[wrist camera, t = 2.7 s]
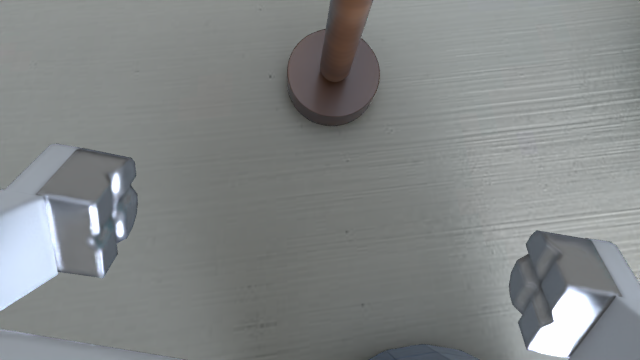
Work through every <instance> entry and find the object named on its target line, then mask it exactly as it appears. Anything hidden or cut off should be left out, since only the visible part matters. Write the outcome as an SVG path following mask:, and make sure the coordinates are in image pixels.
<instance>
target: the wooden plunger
mask: <svg viewBox="0 0 640 360" xmlns="http://www.w3.org/2000/svg"><path fill="white" fill-rule="evenodd" d="M372 2H373V0H331V1H330V7H329V13H328V19H327V25H326V29H324V30H320V31H317V32H314V33H312V34H310V35H308V36H306V37H305V38H304V39H302V40H301V41H300V42H299V43H298V44H297V46H296V47H295V48H294V50H293V52H292V54H291V56H290V58H289V62H288V69H287V87H288V92H289V96H290V98H291V101H292V103H293V104H294V106H295V107H296V109H297V110H298V111H299V112H300V113H301V114H302V115H303V116H305V117H306V118H307V119H309V120H311V121H313V122H315V123H318V124H322V125H328V126H337V125H342V124H346V123H349V122H351V121H353V120H355V119H356V118H358V117H359V116H360V115H361V114H362V113H363V112H364V111H365V110H366V109H367V107H368V106H369V104H370V102H371V100H372V99H373V97H374V95H375V93H376V90H377V88H378V84H379V79H380V69H379V64H378V61H377V58H376V56H375V54H374V52H373V50H372V49H371V48H370V46H369V45H368V44H367V43H366V42H365V41H364V40H363V39H361V36H362V33H363V30H364V27H365V24H366V21H367V18H368V14H369V11H370V8H371V5H372Z"/></svg>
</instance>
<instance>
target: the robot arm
mask: <svg viewBox="0 0 640 360" xmlns="http://www.w3.org/2000/svg"><path fill="white" fill-rule="evenodd" d="M135 177H136V167H135V161H134V160H133V159H132V158H131V157H126V156H121V155H116V154H111V153H106V152H101V151H96V150H91V149H86V148H79V147H75V146H69V145H64V144H58V143H56V144H51V145H49V146H48V147H47V148H46V149H45V150H44V151H43V152H42V153H41V154H40V155H39V156H38V157H37V158H36V159H35V160H34V161H33V162H32V163H31V164H30V165H29V166H28V167H27V168H26V169H25V170H24V171H23V172H22V173H21V174H20V175H19V176H18V177H17V178H16V179H15V180H14V181H13V182H12V183H11V184H10V185H9V186H8V187H7V188H6V189H5V190H4V189H0V311H1V310H3V309H4V308H6V307H7V306H9V305H11V304H12V303H14V302H15V301H17V300H18V299H20V298H22V297H23V296H25V295H26V294H28V293H29V292H31V291H32V290H34V289H36V288H37V287H39V286H40V285H42V284H43V283H45V282H47V281H48V280H50V279H51V278H53V277H54V276H56V275H57V274H58V272H63V273H70V274H77V275H84V276H91V277H98V278H104V276H105V275H106V273H107V271H108V270H109V268H110V266H111V264H112V263H113V261H114V259H115V258H116V256H117V254H118V250H117V243H119V242H120V241H122V240H124V239H126V238H127V237H128V235H129V233H130V232H131V230H132V228H133V225H134V221H135V218H136V215H137V206H138V197H137V193H136V191H135V190H134V189H133V188H132V186H131V183H132V182H133V180H134V179H135ZM526 247H527V250H528V253H529V254H527V255H526V256H524V257H522V258H520V259H519V260H517V261H516V264H515V266H514V268H513V270H512V272H511V276H510V282H509V292H510V297H511V301H512V304H513V306H514V307H515V308H516V309H517V310H518V311H519V312H520V313H521V314H522V317H521V318H520V320H519V322H518V324H519V327H520V330H521V333H522V336H523V339H524V343H525V346H526V349H527V350H529V351H535V352H540V353H545V354H550V355H555V356H560V357H565V358H569V360H640V283H639V282H638V280H637V278H636V277H635V275H634V273H633V272H632V270H631V268H630V267H629V265H628V264H627V262H626V260H625V259H624V257H623V255H622V254H621V252H620V250H619V249H618V247H617V246H616V245H615V244H613V243H612V242H609V241H603V240H596V239H589V238H585V239H584V238H578V237H572V236H567V235H561V234H555V233H549V232H543V231H538V230H537V231H536V232H534V233H533V234H532V235H531V236H530V238H529V240H528V242H527V243H526ZM0 360H186V359H180V358H174V357H168V356H162V355H156V354H150V353H144V352H138V351H131V350H125V349H119V348H113V347H107V346H101V345H95V344H89V343H83V342H77V341H71V340H65V339H58V338H52V337H46V336H40V335H34V334H28V333H22V332H16V331H10V330H4V329H0Z"/></svg>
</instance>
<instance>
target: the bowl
mask: <svg viewBox="0 0 640 360" xmlns="http://www.w3.org/2000/svg"><path fill="white" fill-rule="evenodd" d="M369 360H479V359H478V358H476V357H474V356H472V355H470V354H468V353H466V352H464V351H462V350H458V349H452V348H446V347H440V346H434V345H428V344H419V345H413V346H407V347H401V348H395V349H389V350H386V351H383V352H382V353H380V354H378V355H376V356H374V357H372V358H371V359H369Z"/></svg>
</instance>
